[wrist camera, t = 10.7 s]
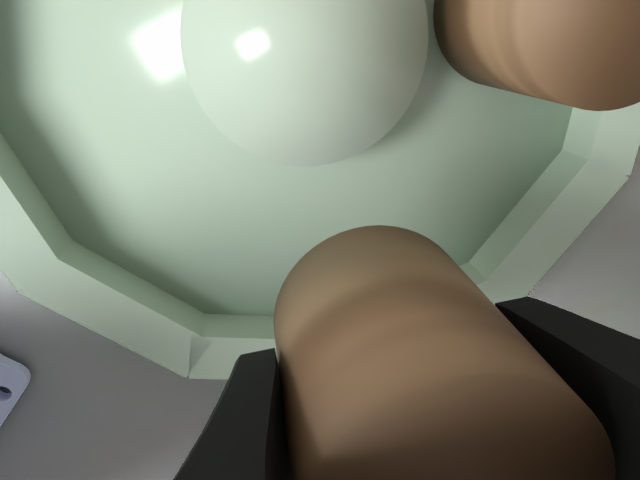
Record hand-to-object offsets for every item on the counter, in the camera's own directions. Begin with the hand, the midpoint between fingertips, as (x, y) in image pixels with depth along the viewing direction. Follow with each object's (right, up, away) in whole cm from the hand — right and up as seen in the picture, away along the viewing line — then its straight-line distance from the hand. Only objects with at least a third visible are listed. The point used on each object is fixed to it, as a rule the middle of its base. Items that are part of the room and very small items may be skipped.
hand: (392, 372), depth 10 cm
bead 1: (+4, +9, +5) cm, 11 cm away
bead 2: (0, +1, +1) cm, 2 cm away
